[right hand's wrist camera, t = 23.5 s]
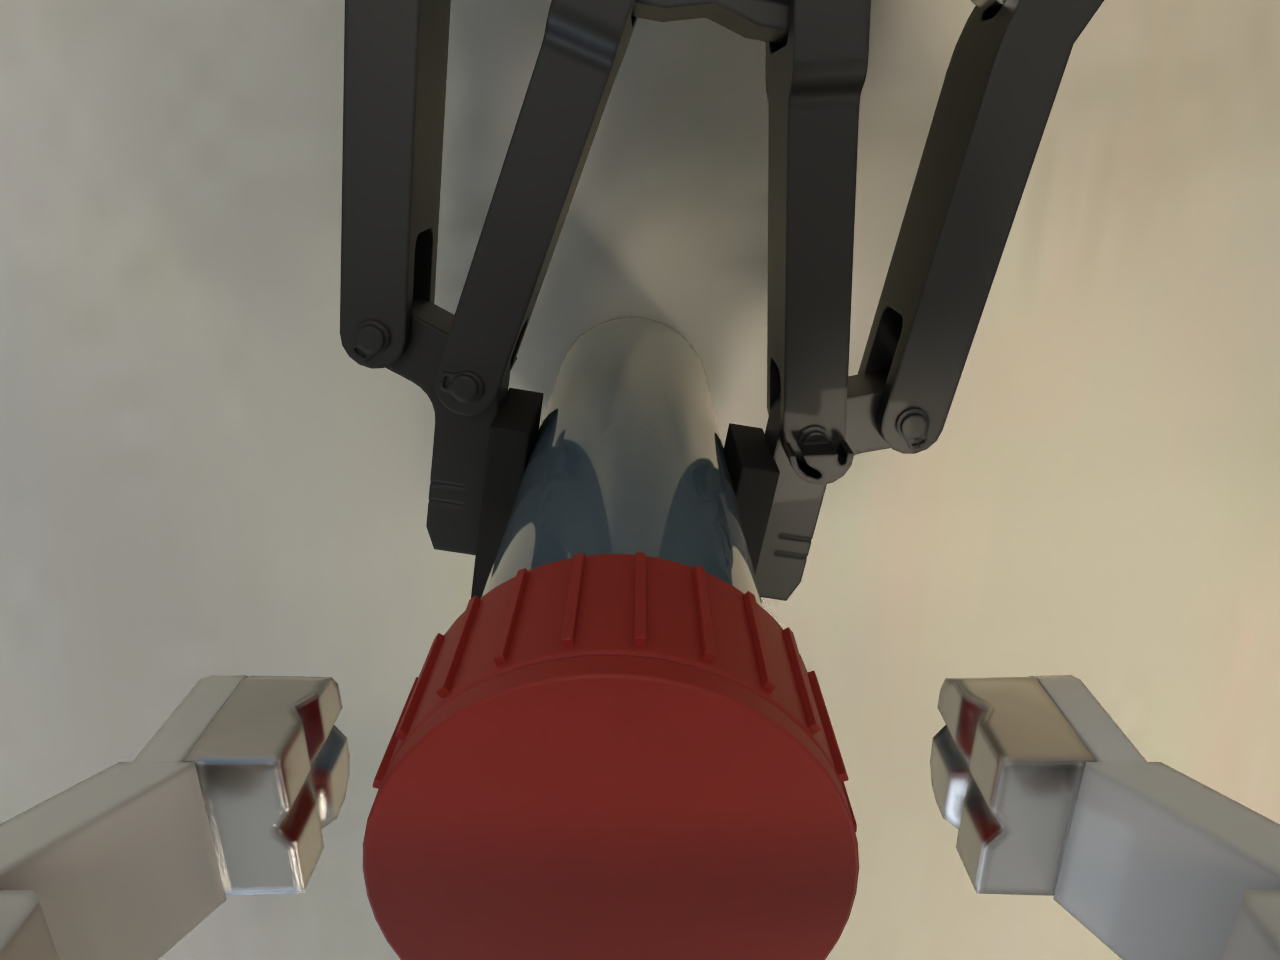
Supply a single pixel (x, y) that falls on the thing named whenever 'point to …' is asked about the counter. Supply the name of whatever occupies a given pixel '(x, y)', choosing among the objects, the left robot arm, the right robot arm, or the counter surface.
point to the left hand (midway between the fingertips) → (591, 685)
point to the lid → (612, 779)
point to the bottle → (628, 462)
